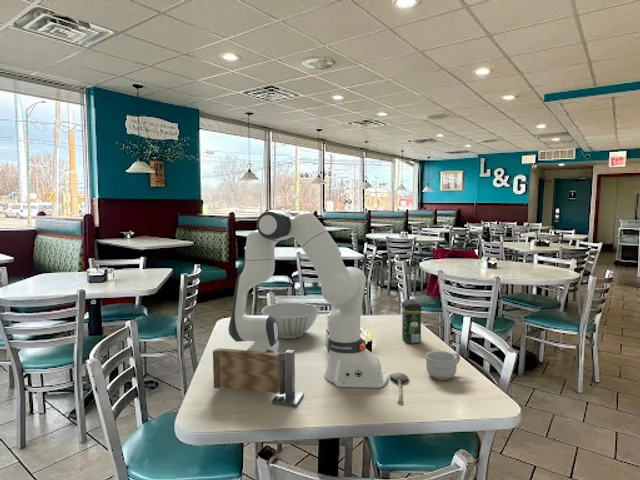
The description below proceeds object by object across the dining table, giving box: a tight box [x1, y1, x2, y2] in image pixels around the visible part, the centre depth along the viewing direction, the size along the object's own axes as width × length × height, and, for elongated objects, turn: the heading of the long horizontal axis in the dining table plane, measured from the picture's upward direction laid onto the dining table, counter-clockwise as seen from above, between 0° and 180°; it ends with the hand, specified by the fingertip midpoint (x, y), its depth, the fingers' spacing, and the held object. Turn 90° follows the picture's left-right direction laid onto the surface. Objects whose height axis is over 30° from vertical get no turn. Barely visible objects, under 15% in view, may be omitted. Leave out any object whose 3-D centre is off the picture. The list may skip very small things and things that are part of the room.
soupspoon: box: [389, 372, 409, 404], centre depth 140 cm, size 22×3×7 cm
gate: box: [212, 347, 285, 394], centre depth 134 cm, size 24×2×13 cm, turn 77°
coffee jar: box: [401, 298, 422, 345], centre depth 187 cm, size 10×8×19 cm
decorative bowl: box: [260, 302, 319, 339], centre depth 196 cm, size 27×27×12 cm
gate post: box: [271, 349, 305, 408], centre depth 131 cm, size 8×8×16 cm
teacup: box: [425, 350, 461, 381], centre depth 149 cm, size 14×11×8 cm
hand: (238, 374), depth 136 cm, fingers closed
